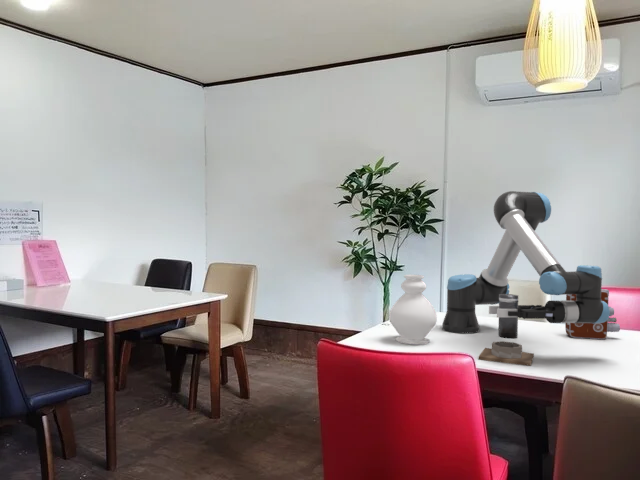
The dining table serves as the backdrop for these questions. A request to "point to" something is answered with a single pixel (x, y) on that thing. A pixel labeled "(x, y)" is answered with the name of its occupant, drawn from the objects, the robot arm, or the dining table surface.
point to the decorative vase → (413, 312)
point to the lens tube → (508, 324)
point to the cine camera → (588, 328)
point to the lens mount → (507, 353)
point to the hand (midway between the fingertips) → (493, 311)
